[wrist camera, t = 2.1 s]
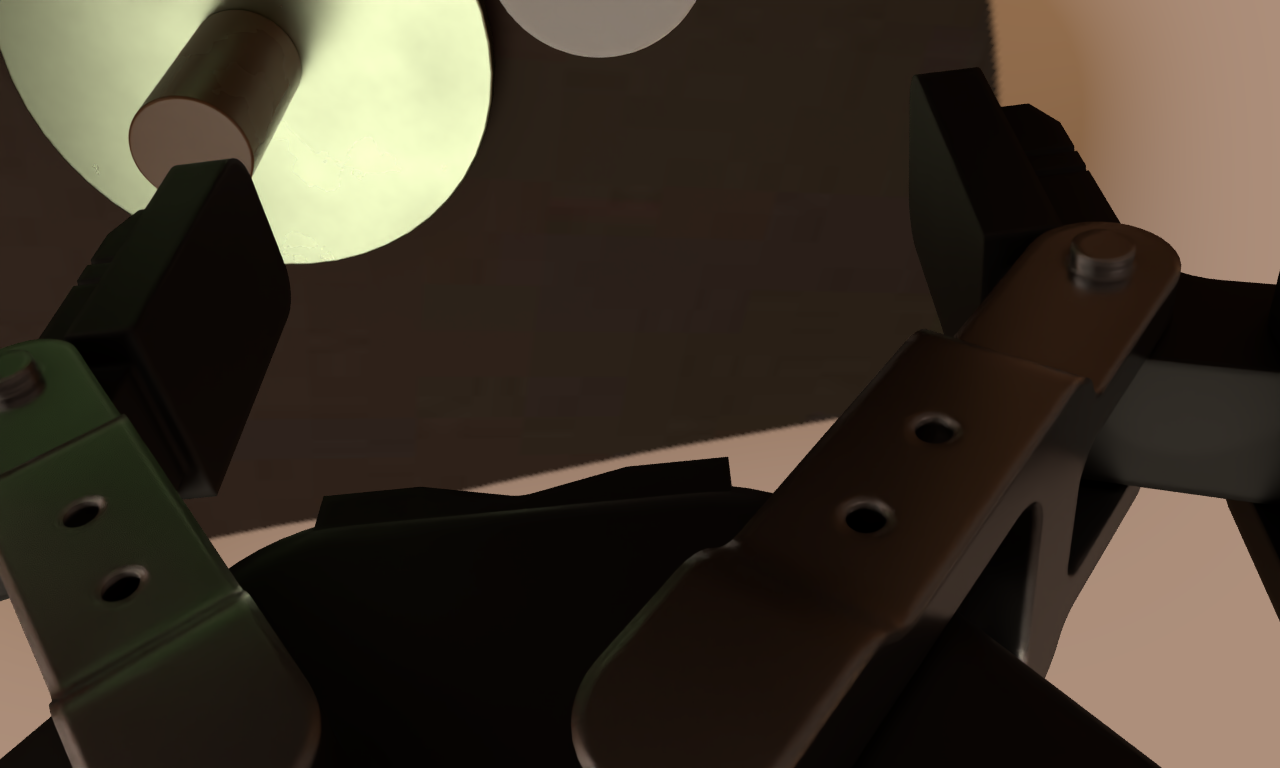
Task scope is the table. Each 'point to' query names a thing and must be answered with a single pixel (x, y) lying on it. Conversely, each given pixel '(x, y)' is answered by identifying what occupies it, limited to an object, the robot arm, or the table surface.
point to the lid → (265, 103)
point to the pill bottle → (598, 23)
